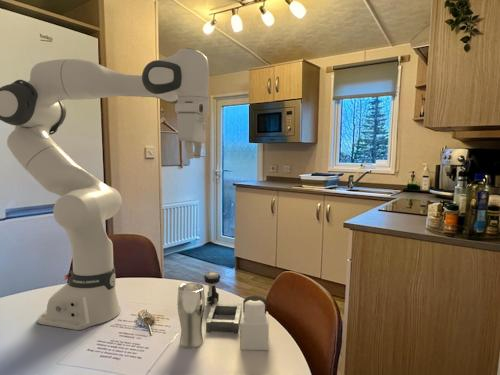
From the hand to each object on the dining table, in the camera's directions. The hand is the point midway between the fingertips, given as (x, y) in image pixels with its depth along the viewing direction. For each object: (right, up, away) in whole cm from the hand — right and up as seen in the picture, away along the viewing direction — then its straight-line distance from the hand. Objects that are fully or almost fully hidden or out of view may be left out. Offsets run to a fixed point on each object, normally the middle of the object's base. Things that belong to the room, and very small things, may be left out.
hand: (193, 158), depth 97 cm
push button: (+3, -47, +15) cm, 49 cm away
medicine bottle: (+17, -49, -8) cm, 53 cm away
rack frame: (+9, -48, +2) cm, 49 cm away
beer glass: (+1, -49, -8) cm, 50 cm away
